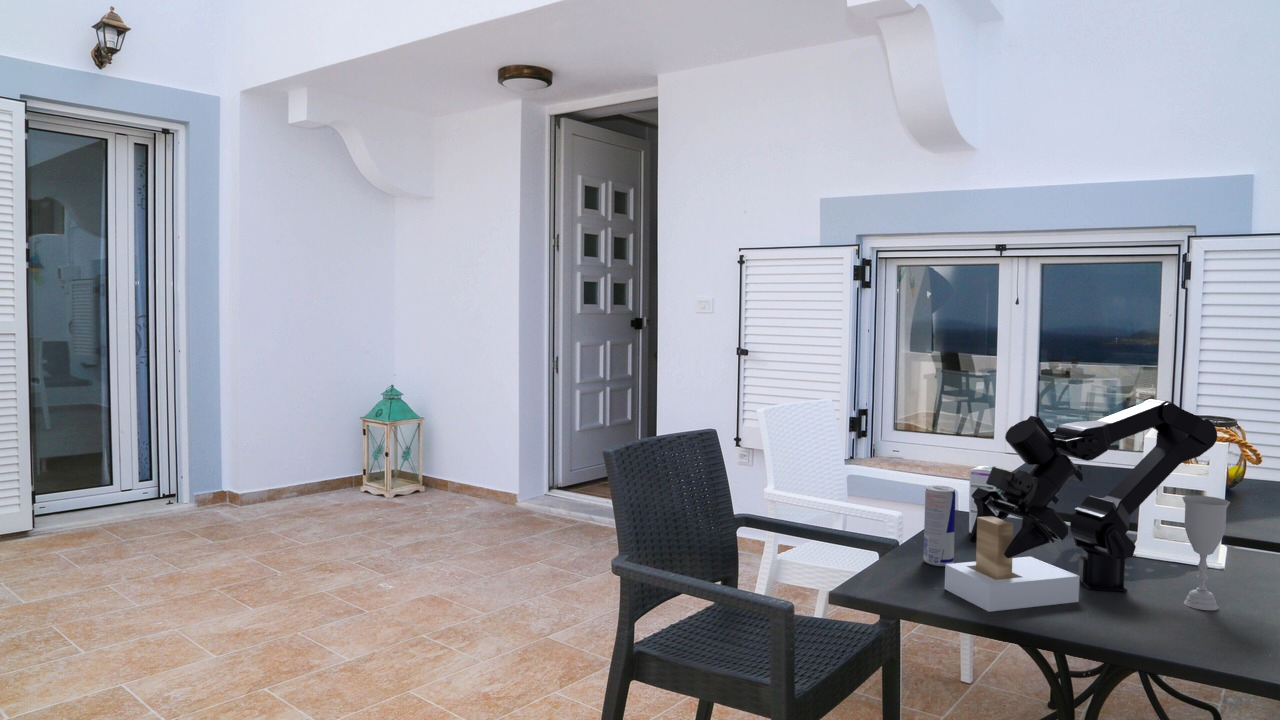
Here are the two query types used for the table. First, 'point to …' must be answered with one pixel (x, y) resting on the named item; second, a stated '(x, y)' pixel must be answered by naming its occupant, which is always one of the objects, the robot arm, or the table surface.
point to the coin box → (1013, 585)
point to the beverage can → (939, 525)
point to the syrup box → (977, 481)
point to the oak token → (993, 547)
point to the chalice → (1204, 541)
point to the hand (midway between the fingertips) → (987, 549)
